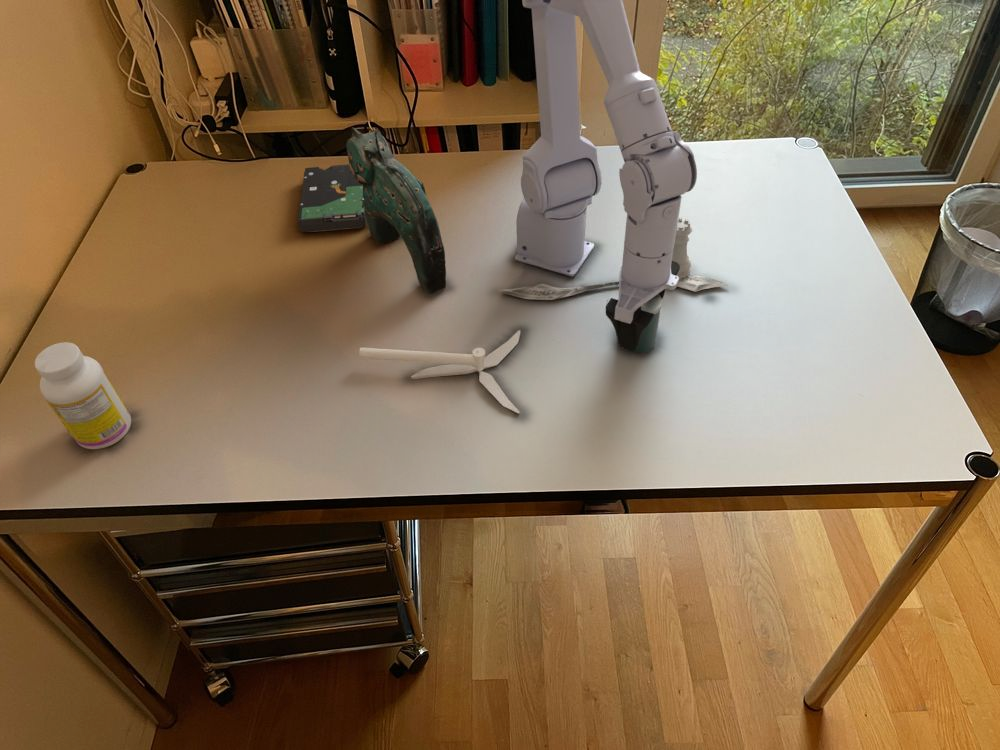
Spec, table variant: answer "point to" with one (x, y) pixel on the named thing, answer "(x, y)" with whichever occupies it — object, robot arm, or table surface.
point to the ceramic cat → (397, 206)
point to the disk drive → (331, 200)
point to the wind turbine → (453, 364)
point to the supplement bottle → (82, 396)
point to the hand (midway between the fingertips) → (638, 328)
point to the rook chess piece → (682, 248)
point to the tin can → (649, 325)
